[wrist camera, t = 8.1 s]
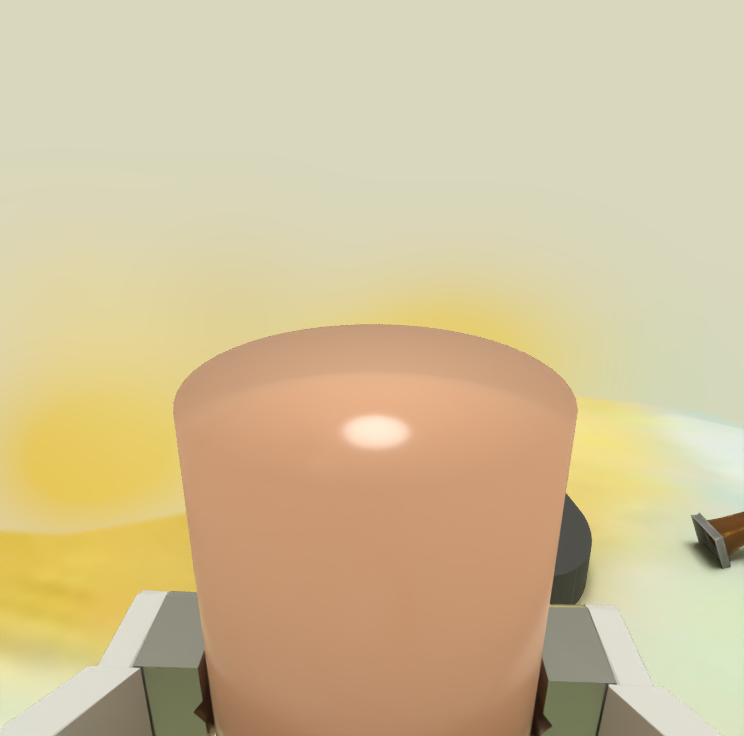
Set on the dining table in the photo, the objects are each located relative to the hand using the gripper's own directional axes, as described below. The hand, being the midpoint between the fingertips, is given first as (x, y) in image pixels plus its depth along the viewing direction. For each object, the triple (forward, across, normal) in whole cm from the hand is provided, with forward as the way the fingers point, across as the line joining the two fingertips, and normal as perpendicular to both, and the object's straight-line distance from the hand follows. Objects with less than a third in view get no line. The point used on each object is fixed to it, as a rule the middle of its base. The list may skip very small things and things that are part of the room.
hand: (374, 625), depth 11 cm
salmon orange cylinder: (-1, 0, +6) cm, 6 cm away
